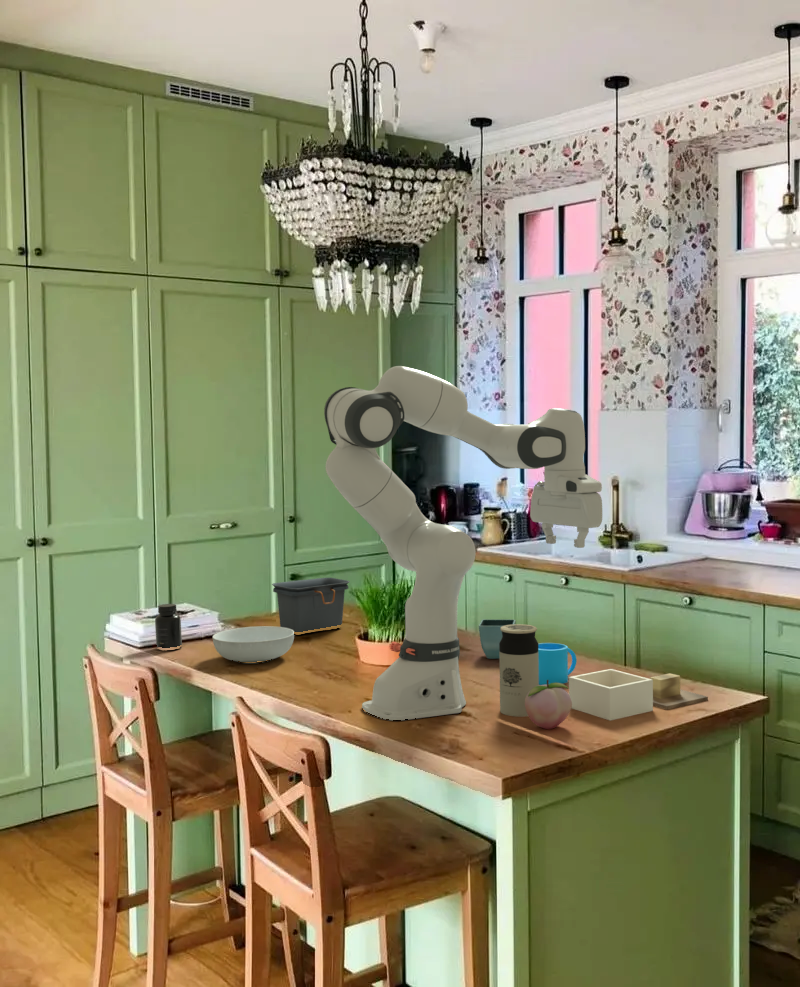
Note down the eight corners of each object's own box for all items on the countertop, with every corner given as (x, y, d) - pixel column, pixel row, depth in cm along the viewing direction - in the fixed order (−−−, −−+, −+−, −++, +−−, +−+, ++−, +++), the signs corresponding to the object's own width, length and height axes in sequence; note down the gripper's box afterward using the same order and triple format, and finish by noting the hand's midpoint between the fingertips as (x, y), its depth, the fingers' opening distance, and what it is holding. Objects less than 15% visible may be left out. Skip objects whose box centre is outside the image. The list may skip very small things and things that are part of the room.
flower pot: (478, 660, 271) (478, 625, 270) (482, 653, 280) (481, 618, 279) (513, 661, 269) (513, 626, 269) (516, 653, 278) (515, 619, 277)
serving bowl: (268, 647, 291) (267, 622, 291) (310, 660, 275) (309, 633, 274) (198, 659, 279) (198, 632, 278) (238, 673, 262) (237, 645, 262)
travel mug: (517, 706, 227) (516, 622, 226) (546, 713, 222) (546, 627, 220) (492, 714, 222) (491, 627, 221) (521, 721, 216) (520, 633, 215)
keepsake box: (610, 723, 214) (609, 688, 213) (569, 710, 224) (568, 676, 223) (652, 713, 220) (652, 679, 220) (611, 701, 230) (611, 668, 230)
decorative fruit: (548, 721, 216) (548, 672, 216) (579, 730, 210) (578, 679, 209) (514, 729, 211) (514, 679, 210) (544, 739, 204) (544, 687, 203)
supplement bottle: (166, 645, 296) (165, 602, 295) (187, 647, 293) (185, 603, 292) (150, 650, 290) (149, 606, 289) (171, 652, 287) (169, 608, 286)
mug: (547, 687, 243) (547, 652, 242) (525, 680, 250) (524, 645, 249) (587, 680, 249) (587, 645, 249) (564, 673, 256) (564, 639, 256)
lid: (666, 710, 221) (666, 686, 221) (623, 698, 231) (623, 675, 231) (707, 701, 228) (707, 678, 227) (663, 689, 238) (663, 667, 238)
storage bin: (327, 622, 325) (326, 575, 324) (359, 629, 313) (358, 581, 312) (268, 632, 311) (267, 583, 310) (299, 640, 300) (298, 589, 299)
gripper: (523, 481, 243) (523, 542, 244) (585, 485, 226) (585, 550, 227) (545, 480, 246) (545, 540, 247) (607, 484, 229) (607, 548, 230)
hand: (564, 545), depth 237 cm, fingers open, 8 cm apart
